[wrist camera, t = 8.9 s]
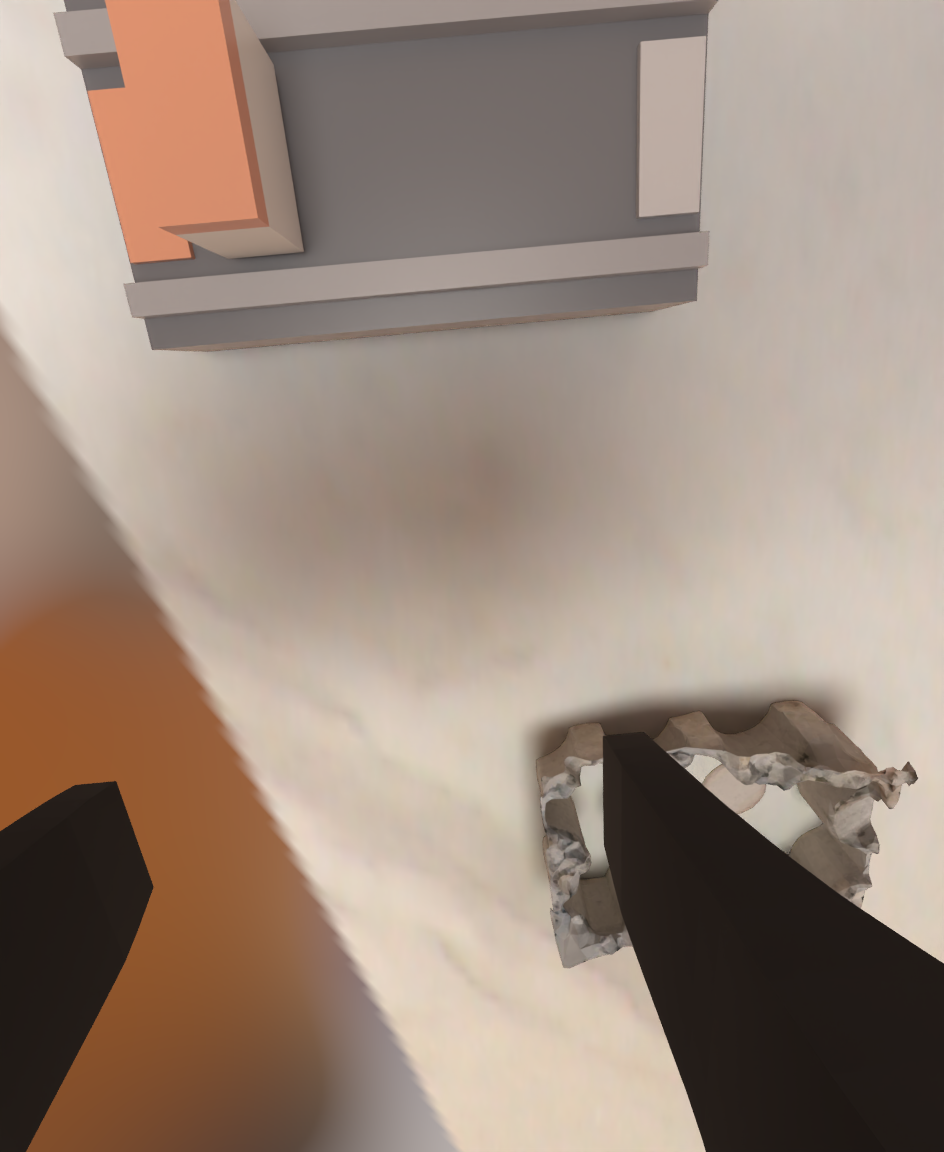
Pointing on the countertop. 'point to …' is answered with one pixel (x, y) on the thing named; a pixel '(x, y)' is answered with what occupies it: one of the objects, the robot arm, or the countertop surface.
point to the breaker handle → (208, 125)
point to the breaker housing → (438, 169)
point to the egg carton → (749, 761)
